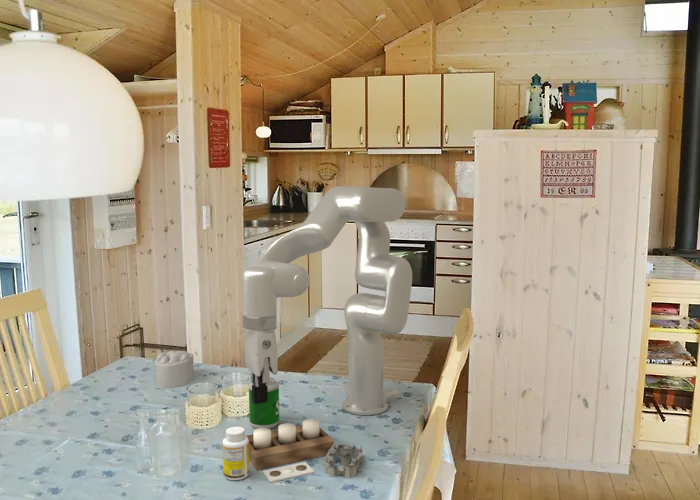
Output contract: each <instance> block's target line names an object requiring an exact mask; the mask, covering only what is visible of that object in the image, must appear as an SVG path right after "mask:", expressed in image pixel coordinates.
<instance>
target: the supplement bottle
mask: <svg viewBox="0 0 700 500" xmlns="http://www.w3.org/2000/svg"><path fill="white" fill-rule="evenodd" d="M245 431H246V430H245V428H244V427H242V426H232V427H231V426H230V427H229V428H227V429H226V430H225V437H224V438H223V439H222V443H221V446H222V466H223V467H222V469H223V476H224V478H226V480H229V481H241V480H243V479H246V478H247V477H248V476H249V474H250V462H249V440H248V438H247V437H246V436H247V435H246V432H245Z"/></svg>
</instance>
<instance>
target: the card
mask: <svg viewBox="0 0 700 500" xmlns="http://www.w3.org/2000/svg"><path fill="white" fill-rule="evenodd" d="M262 474H263V475H264V476H265V478H266V479H267V481H268V483H274V482H279V481H284V480H290V479H293V478H297V477H302V476H307V475H311V474H315V470H314V469H313V468H312V467H311V466H310V465H309V463H307V461H301V462H296V463H291V464H289V465H288V464H287V465H282V466H277V467H273V468H268V469H263V470H262Z"/></svg>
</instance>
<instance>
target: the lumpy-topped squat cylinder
mask: <svg viewBox="0 0 700 500" xmlns="http://www.w3.org/2000/svg"><path fill="white" fill-rule="evenodd" d="M194 364H195V361H194V354H193V353H191V352H188V351H186V350H170V351H168V352H165V353H164V352H160V353H159V354H158V355H157V357H156V358H155V360H154V366H155V367H154V368H155V385H156V386H157V387H159V388H161V389H174V388H178V387H182V386H184V385H188V384H189V383H191V381H192V380H193V379H194V378H195V369H194V368H195V366H194Z"/></svg>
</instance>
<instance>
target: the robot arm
mask: <svg viewBox="0 0 700 500" xmlns="http://www.w3.org/2000/svg"><path fill="white" fill-rule="evenodd" d="M405 210H406V199H405V196H404V195H403V193H402V191H400V190H398V189H397V188H392V187H369V186H353V185H352V186H350V185H348V186H347V185H338V186H333V187H330V188H329V189H328V190H327V191H326V192H325V194H324V195H323V196H322V197H321V198H320V200H319V202H317V203H316V206H315V207H314V208H313V210H312V211H311V212H310V214H308V216H307V217H306V219H305V220H304V221H303V223H302V224H301V225H299V226H297V227H296V228H294V229H291V231H289V232H287V233H286V234H284V235H282V236H281V237H279V238H278V239H276V240H274V241H273V242H272V243H271V244H269V245H268V247H266V249H265V250H264V252H263V253H262V254H261V256H259V258H258V259H257V261H256V263H255V264H254V265H253V266H249V267H246V268H245V269H244V270H243V271H242V275H241V276H242V279H241V281H242V285H241V287H242V294H241V295H242V305H241V306H242V312H241V313H242V314H241V315H242V331H244V332H245V337H244V362H245V366H246V368H247V369H248V370H250V376H251V379H250V380H251V381H250V382H252V384H254V385H252V402H253V403H254V404H259V403H266V402H267V401H268V382H270V377H271V375H270V372H271V374H272V375H274V376H275V375H277V374H278V372H279V367H278V366H279V365H278V346H277V336H276V330H277V317H278V315H277V311H278V309H277V308H278V307H277V301H278V300H277V299H278V298H294V297H295V298H296V297H298V296H301V295H303V294H304V293H305V292H306V291H307V289H308V288H309V286H310V281H311V280H310V275H309V273H308V271H307V270H306V269H305V268H304V267H302V266H301V265H298V264H294V263H291V262H293V261H295V260H297V259H298V258H301V257H304V256H307V255H310V254H311V255H312V254H314V253H318V252H321V251H323V250H326V249H328V248H329V247H330V246H331V245H332V244H333V242H334V241H335V240H336V238H337V237H338V235H339V234H340V232H341V230H343V228H344V227H345V225H346V224H347V223H348V222H350V221H352V222H354V223H355V226H356V229H357V232H358V242H357V243H358V245H357V252H356V260H355V270H354V280H355V283H356V284H357V285H358V286H359V287H362V288H365V289H369V290H375V291H383V292H384V293H385V294H384V295H379V294H374V293H373V294H372V293H367V292H365V293H364V292H363V293H362V292H360V293H359V292H358V293H354V294H352V295H351V296H350V297H348V298H347V300H346V301H345V305H344V320H345V325H346V331H347V341H348V342H347V346H348V347H347V351H348V352H347V353H348V354H347V356H348V357H347V376H348V377H347V388H348V389H347V394H348V395H347V398H345V399H344V400H343V401H342V409H343V410H345V412H348V413H350V414H353V415H357V416H358V415H359V416H360V415H361V416H373V415H378V414H383V413H384V412H386V411H387V410H388V409H389V402H388V400H389V399H390V398H397V397H399V394H400V393H399V390H398V389H392V390H390V388H385V389H384V342H383V338H382V336H381V333H382V334H385V335H386V334H387V335H397V334H400V333H401V332H402V331H403V330H404V328H405V327H406V325H407V321H408V317H409V316H408V315H409V309H410V302H411V293H412V284H413V270H412V267H411V264H410V263H409V261H408V260H407V259H406V258H404V257H401V256H397V255H390V247H391V246H390V245H391V233H390V231H389V228H388V225H387V224H386V223H387V222H390V223H391V222H396V221H398V220H399V219H400V218H401V217H402V216H403V214H404V212H405Z"/></svg>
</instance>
